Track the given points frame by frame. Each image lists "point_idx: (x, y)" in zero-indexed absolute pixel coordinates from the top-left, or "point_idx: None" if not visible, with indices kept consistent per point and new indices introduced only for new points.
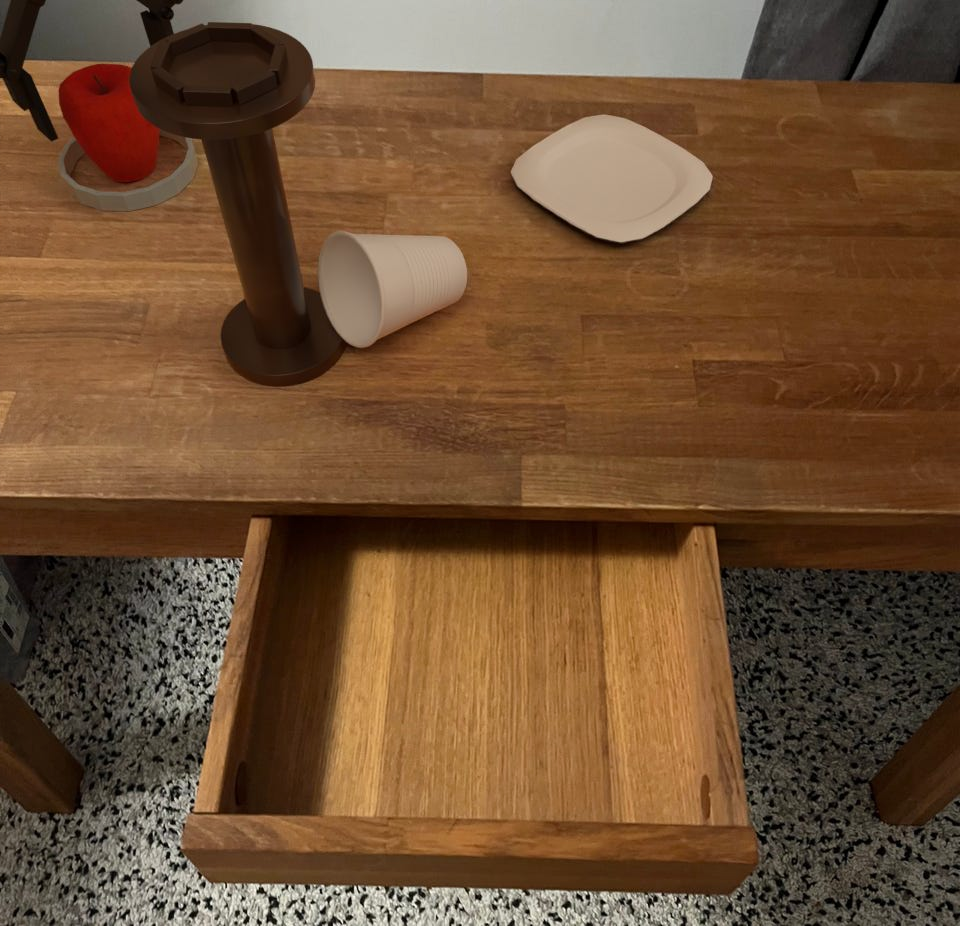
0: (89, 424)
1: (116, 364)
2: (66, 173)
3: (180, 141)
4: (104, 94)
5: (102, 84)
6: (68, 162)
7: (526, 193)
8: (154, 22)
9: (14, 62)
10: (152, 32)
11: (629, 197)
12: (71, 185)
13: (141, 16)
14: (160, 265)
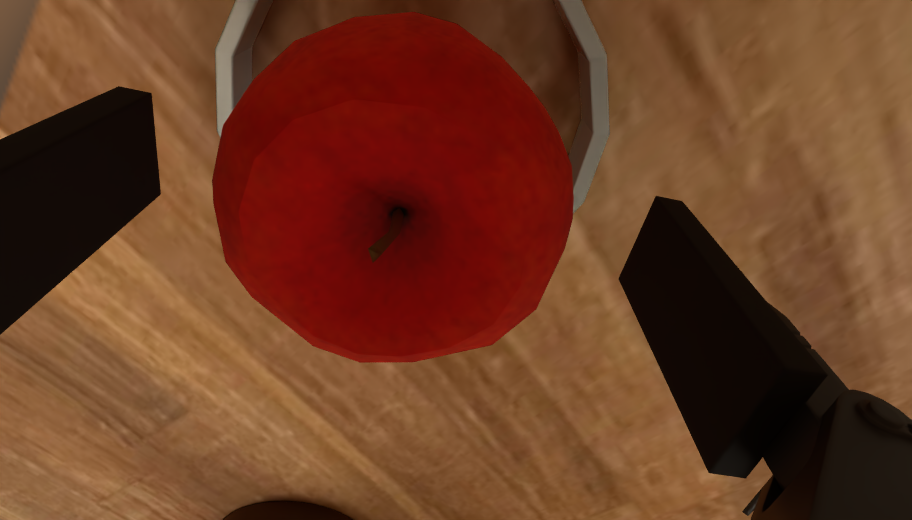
0: (4, 484)
1: (82, 449)
2: (234, 54)
3: (574, 148)
4: (351, 302)
5: (420, 193)
6: None
7: None
8: (718, 466)
9: None
10: (709, 373)
11: None
12: (217, 113)
13: (772, 357)
14: (256, 369)
